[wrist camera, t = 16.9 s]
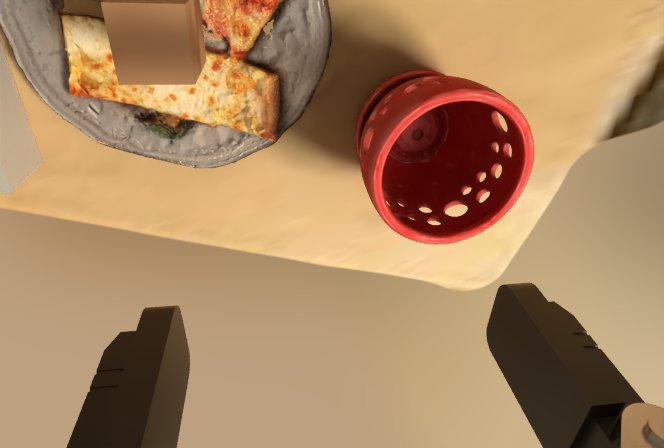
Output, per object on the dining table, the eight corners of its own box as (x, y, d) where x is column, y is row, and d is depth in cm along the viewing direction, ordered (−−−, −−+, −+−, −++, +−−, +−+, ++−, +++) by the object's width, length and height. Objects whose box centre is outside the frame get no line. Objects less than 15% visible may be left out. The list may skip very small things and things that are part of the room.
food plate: (369, -70, 35) (377, -71, 32) (282, 182, 46) (282, 199, 43) (12, -235, 29) (-19, -255, 26) (10, 106, 40) (-12, 119, 37)
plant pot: (470, 173, 48) (524, 235, 38) (350, 189, 47) (372, 257, 37) (483, 46, 41) (553, 81, 31) (341, 62, 40) (367, 103, 30)
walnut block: (129, -10, 33) (100, 2, 27) (198, -8, 34) (184, 4, 28) (142, 60, 36) (118, 84, 30) (206, 61, 37) (195, 84, 31)
